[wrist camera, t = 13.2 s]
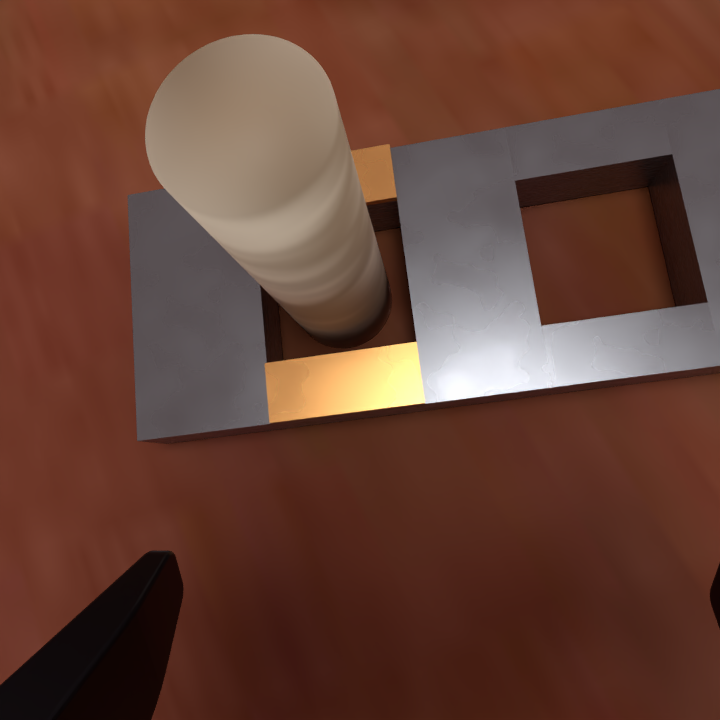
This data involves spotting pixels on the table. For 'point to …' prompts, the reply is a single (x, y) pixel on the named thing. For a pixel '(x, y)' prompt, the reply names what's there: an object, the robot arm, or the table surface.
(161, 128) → the birch peg
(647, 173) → the grey peg hole board
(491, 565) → the table surface
